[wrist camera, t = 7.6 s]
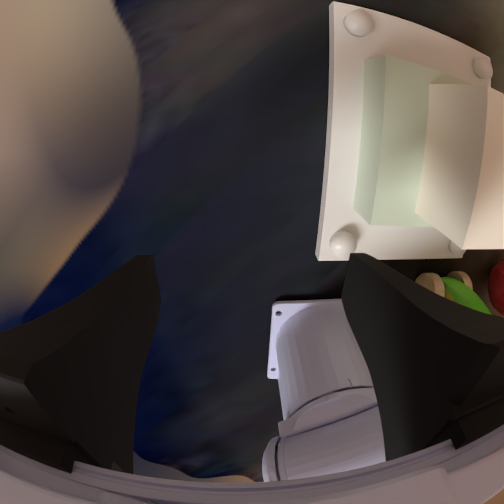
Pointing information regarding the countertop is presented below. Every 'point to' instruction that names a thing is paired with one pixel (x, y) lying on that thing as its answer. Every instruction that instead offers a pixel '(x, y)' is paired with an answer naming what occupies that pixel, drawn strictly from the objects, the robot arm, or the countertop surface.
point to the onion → (497, 286)
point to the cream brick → (464, 165)
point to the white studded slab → (384, 133)
